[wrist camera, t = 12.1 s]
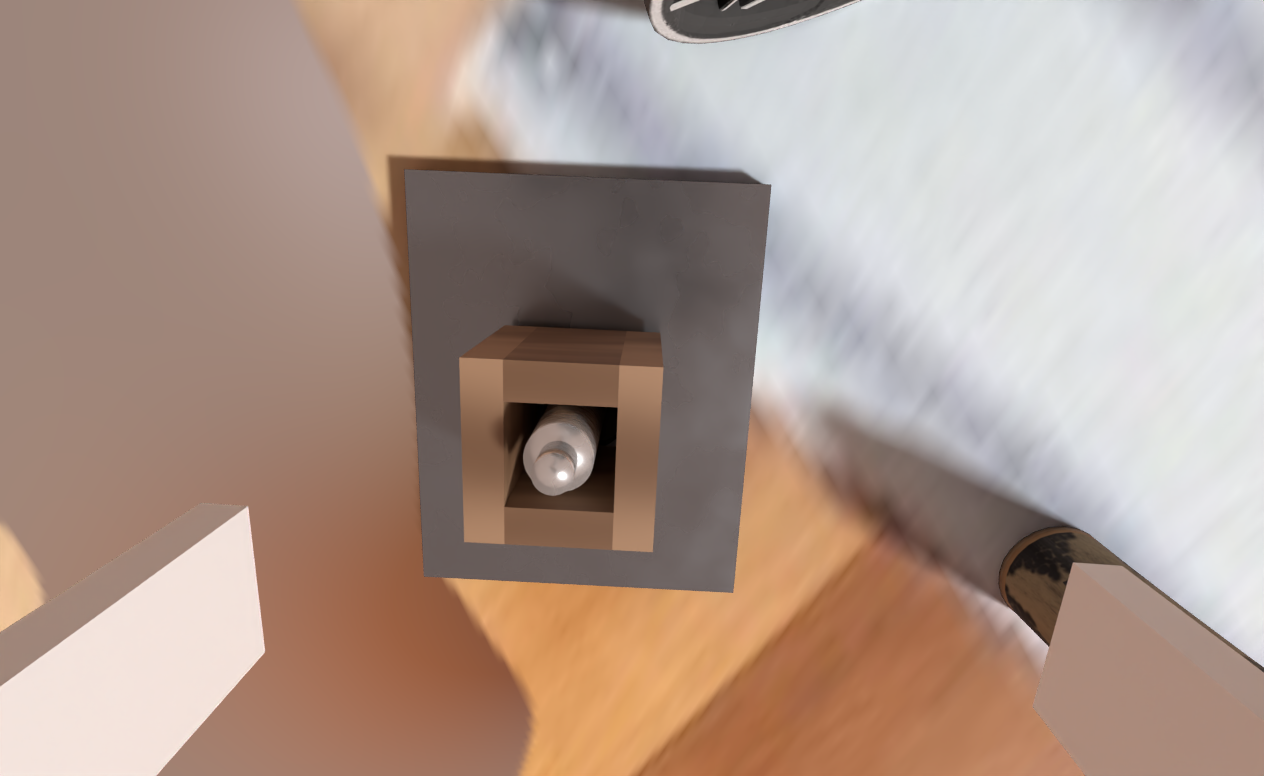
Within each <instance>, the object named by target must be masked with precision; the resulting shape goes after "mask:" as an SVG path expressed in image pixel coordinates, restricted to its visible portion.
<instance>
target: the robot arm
mask: <svg viewBox="0 0 1264 776" xmlns="http://www.w3.org/2000/svg"><path fill="white" fill-rule="evenodd" d="M264 652H265V647H264V639H263V630H262V622H261V614H260V604H259V596H258V587H257V580H256V571H255V561H254V553H253V544H252V536H251V527H250V519H249V510H248V506H239V505H225V504H210V503H200V504H198V505H197V506H195V507H194V508H192V509H191V510H189V511H188V512H186V513H184V514H183V515H181V516H180V517H178V518H177V519H175V520H173V521H172V522H170V523H169V524H167V525H166V526H164V527H163V528H161V529H160V530H158V531H156V532H155V533H153V534H152V535H150V536H149V537H147V538H146V539H144V540H142V541H141V542H139V543H138V544H136V545H135V546H133V547H132V548H130V549H128V550H127V551H125V552H124V553H122V554H121V555H119V556H118V557H116V558H115V559H113V560H111V561H110V562H108V563H107V564H105V565H104V566H102V567H101V568H99V569H97V570H96V571H94V572H93V573H91V574H90V575H88V576H87V577H85V578H84V579H82V580H81V581H79V582H77V583H76V584H74V585H73V586H71V587H70V588H68V589H67V590H65V591H63V592H62V593H60V594H59V595H57V596H56V597H54V598H53V599H51V600H49V601H48V602H46V603H45V604H43V605H42V606H40V607H39V608H37V609H35V610H34V611H32V612H31V613H29V614H28V615H26V616H25V617H23V618H21V619H20V620H18V621H17V622H15V623H14V624H12V625H11V626H9V627H8V628H6V629H4V630H3V631H1V632H0V776H156V775H157V774H158V773H159V772H160V771H161V770H162V768H163V767H164V766H165V765H166V764H167V763H168V761H170V759H171V758H172V757H173V756H174V755H175V754H176V753H177V751H178V750H179V749H180V748H181V747H182V746H183V745H184V743H185V742H186V741H187V740H188V739H189V738H190V736H191V735H192V734H193V733H194V732H195V731H196V730H197V729H198V728H199V726H200V725H201V724H202V723H203V722H204V721H205V720H206V718H207V717H208V716H209V715H210V714H211V713H212V712H213V710H214V709H215V708H216V707H217V706H218V705H219V704H220V702H221V701H222V700H223V699H224V698H225V697H226V696H227V694H228V693H229V692H230V691H231V690H232V689H233V688H234V687H235V685H236V684H237V683H238V682H239V681H240V680H241V679H242V678H243V676H244V675H245V674H246V673H247V672H248V671H249V670H250V668H251V667H252V666H253V665H254V664H255V663H256V662H257V660H258V659H259V658H260V657H261V656H262V655H263V654H264ZM1033 708H1034V709H1035V711H1036V712H1037V713H1038V715H1039V716H1040V717H1041V718H1042V720H1043V721H1044V722H1045V724H1046V725H1047V726H1048V728H1049V729H1050V730H1051V731H1052V733H1053V734H1054V735H1055V737H1056V738H1057V739H1058V741H1059V742H1060V743H1061V744H1062V746H1063V747H1064V748H1065V750H1066V751H1067V752H1068V754H1069V755H1070V756H1071V757H1072V759H1073V760H1074V761H1075V763H1076V764H1077V765H1078V767H1079V768H1080V769H1081V770H1082V772H1083V773H1084V774H1085V776H1264V672H1262V671H1261V670H1260V669H1258V668H1257V667H1256V666H1254V665H1253V664H1252V663H1250V662H1249V661H1248V660H1247V659H1245V658H1244V657H1243V656H1241V655H1240V654H1239V653H1237V652H1236V651H1235V650H1233V649H1232V648H1231V647H1229V646H1228V645H1227V644H1225V643H1224V642H1223V641H1221V640H1220V639H1219V638H1217V637H1216V636H1215V635H1213V634H1212V633H1211V632H1209V631H1208V630H1207V629H1205V628H1204V627H1203V626H1201V625H1200V624H1199V623H1197V622H1196V621H1195V620H1193V619H1192V618H1191V617H1189V616H1188V615H1187V614H1185V613H1184V612H1183V611H1181V610H1180V609H1179V608H1177V607H1176V606H1175V605H1173V604H1172V603H1171V602H1169V601H1168V600H1167V599H1165V598H1164V597H1163V596H1162V595H1160V594H1159V593H1158V592H1156V591H1155V590H1154V589H1152V588H1151V587H1150V586H1148V585H1147V584H1146V583H1144V582H1143V581H1142V580H1140V579H1139V578H1138V577H1136V576H1135V575H1134V574H1132V573H1131V572H1130V571H1128V570H1127V569H1126V568H1124V567H1123V566H1118V565H1103V564H1088V563H1074V562H1073V564H1072V568H1071V571H1070V575H1069V579H1068V582H1067V586H1066V589H1065V593H1064V596H1063V600H1062V604H1061V607H1060V611H1059V614H1058V618H1057V621H1056V625H1055V628H1054V632H1053V636H1052V639H1051V643H1050V646H1049V650H1048V653H1047V657H1046V661H1045V664H1044V668H1043V671H1042V675H1041V678H1040V682H1039V686H1038V689H1037V693H1036V696H1035V700H1034V703H1033Z"/></svg>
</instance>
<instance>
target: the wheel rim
mask: <svg viewBox="0 0 1264 776" xmlns="http://www.w3.org/2000/svg"><path fill="white" fill-rule="evenodd" d="M859 1H861V0H644V3H645V6H646V9H647V13H648V16H649V19H650V21H651V23H652V26H653V28H654V31H656V32H657V33H659V34H660V35H662V36H663V37H665V38H666V39H668V40H672V41H676V42H681V43H698V44H702V43H714V42H722V41H729V40H735V39H740V38H745V37H749V36H754V35H758V34H762V33H767V32H771V31H774V30H777V29H781V28H784V27H787V26H791V25H794V24H797V23H800V22H803V21H806V20H809V19H812V18H815V17H818V16H821V15H824V14H827V13H829V12H832V11H835V10H838V9H840V8H843V7H846V6H849V5H851V4H854V3H856V2H859Z"/></svg>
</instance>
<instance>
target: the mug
mask: <svg viewBox="0 0 1264 776" xmlns="http://www.w3.org/2000/svg"><path fill="white" fill-rule="evenodd" d="M1073 562H1074V563H1088V564H1103V565H1118V566H1123V567H1124V568H1126V569H1127V570H1128V571H1130V572H1131V573H1132V574H1134V575H1135V576H1136V577H1138V578H1139V579H1140V580H1142V581H1143V582H1144V583H1146V584H1147V585H1148V586H1150V587H1151V588H1152V589H1154V590H1155V591H1156V592H1158V593H1159V594H1160V595H1162V596H1163V597H1164V598H1165V599H1167V600H1168V601H1169V602H1171V603H1172V604H1173V605H1175V606H1176V607H1177V608H1179V609H1180V610H1181V611H1183V612H1184V613H1185V614H1187V615H1188V616H1189V617H1191V618H1192V619H1193V620H1195V621H1196V622H1197V623H1199V624H1200V625H1201V626H1203V627H1204V628H1205V629H1207V630H1208V631H1209V632H1211V633H1212V634H1213V635H1215V636H1216V637H1217V638H1219V639H1220V640H1221V641H1223V642H1224V643H1225V644H1227V645H1228V646H1229V647H1231V648H1232V649H1233V650H1235V651H1236V652H1237V653H1239V654H1240V655H1241V656H1243V657H1244V658H1245V659H1247V660H1248V661H1249V662H1250V663H1252V664H1253V665H1254V666H1256V667H1257V668H1258V669H1260V670H1261V671H1262V672H1264V667H1262V666H1261V665H1260V664H1258V663H1257V662H1255V661H1254V660H1253V659H1251V658H1250V657H1248V656H1247V655H1246V654H1244V653H1243V652H1242V651H1240V650H1239V649H1238V648H1236V647H1235V646H1234V645H1232V644H1231V643H1230V642H1228V641H1227V640H1226V639H1224V638H1223V637H1222V636H1220V635H1219V634H1218V633H1216V632H1215V631H1214V630H1212V629H1211V628H1210V627H1208V626H1207V625H1206V624H1204V623H1203V622H1202V621H1200V620H1199V619H1198V618H1196V617H1195V616H1194V615H1192V614H1191V613H1190V612H1188V611H1187V610H1186V609H1184V608H1183V607H1182V606H1180V605H1179V604H1178V603H1177V602H1175V601H1174V600H1173V599H1171V598H1170V597H1169V596H1167V595H1166V594H1165V593H1164V592H1162V591H1161V590H1160V589H1158V588H1157V587H1156V586H1154V585H1153V584H1152V583H1151V582H1149V581H1148V580H1147V579H1145V578H1144V577H1143V576H1141V575H1140V574H1139V573H1138V572H1136V571H1135V570H1134V569H1132V568H1131V567H1130V566H1128V565H1127V564H1126V563H1125V562H1123V561H1122V560H1121V559H1120V558H1118V557H1117V556H1116V555H1115V554H1113V553H1112V552H1111V551H1110V550H1108V549H1107V548H1106V547H1104V546H1103V545H1102V544H1101V543H1099V542H1098V541H1097V540H1096V539H1094V538H1093V537H1092V536H1091V535H1089V534H1088V533H1085V532H1083V531H1081V530H1079V529H1076V528H1069V527H1051V528H1046V529H1043V530H1040V531H1036V532H1034V533H1032V534H1030V535H1029V536H1027V537H1025V538H1023V539H1022V540H1021V541H1019V542H1018V543H1017V544H1016V545H1015V546H1014V547H1013V548H1012V549H1011V550H1010V551H1009V553H1008V554H1007V556H1006V557H1005V559H1004V560H1003V563H1002V566H1001V569H1000V572H999V587H1000V591H1001V595H1002V597H1003V599H1004V600H1005V602H1006V603H1007V605H1008V606H1009V607H1010V608H1011V609H1012V610H1013V611H1014V612H1015V613H1016V614H1017V615H1018V616H1019V617H1020V618H1021V619H1022V620H1023V621H1024V622H1025V623H1026V624H1027V625H1028V626H1029V627H1030V628H1031V629H1032V630H1033V631H1034V632H1035V633H1036V634H1037V635H1038V636H1039V637H1040V638H1041V639H1042V640H1043V641H1044V642H1045V643H1046V644H1047V645H1048V646H1050V643H1051V639H1052V636H1053V632H1054V628H1055V625H1056V621H1057V618H1058V614H1059V611H1060V607H1061V604H1062V600H1063V596H1064V593H1065V589H1066V586H1067V582H1068V579H1069V575H1070V571H1071V568H1072V564H1073Z"/></svg>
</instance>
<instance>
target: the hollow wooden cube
mask: <svg viewBox="0 0 1264 776" xmlns="http://www.w3.org/2000/svg"><path fill="white" fill-rule="evenodd" d="M459 369H460V406H461V442H462V479H463V515H464V542H472V543H490V544H509V545H528V546H547V547H565V548H584V549H603V550H622V551H641V552H653V540H654V522H655V505H656V488H657V470H658V453H659V436H660V418H661V401H662V384H663V357H662V346H661V335H660V333H657V332H636V331H615V330H595V329H574V328H553V327H532V326H511V325H504V326H503V327H502V328H500V329H499V330H497V331H496V332H495V333H493V334H492V335H490V336H489V337H487V338H486V339H485V340H483V341H482V342H480V343H479V344H478V345H476V346H475V347H473V348H472V349H471V350H469V351H468V352H466V353H465V354H463V355H462V356H461V357H459ZM538 403H539V404H559V405H579V406H599V407H618V416H617V441H616V446H602V445H598V448H597V452H596V456H595V460H594V465H593V469H592V472H591V474H590V476H589V478H588V479H587V480H586V481H585V482H584V483H583V484H582V485H581V486H579V487H578V488H576V489H574V490H571V491H567V492H564V493H562V494H560V495H555V496H551V495H546V494H543V493H541V492H540V491H539V490H537V489H536V488H535V486H534V485H533V483H532V480H531V478H530V477H529V475H528V474H527V472H526V470H525V467H524V463H523V453H524V448H525V446H526V444H527V442H528V440H529V438H530V436H531V435H532V433H533V431H534V429H535V427H536V426H537V421H538Z"/></svg>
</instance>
